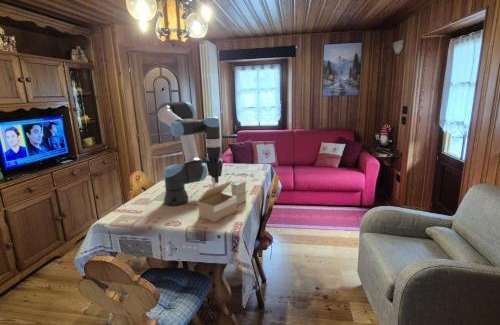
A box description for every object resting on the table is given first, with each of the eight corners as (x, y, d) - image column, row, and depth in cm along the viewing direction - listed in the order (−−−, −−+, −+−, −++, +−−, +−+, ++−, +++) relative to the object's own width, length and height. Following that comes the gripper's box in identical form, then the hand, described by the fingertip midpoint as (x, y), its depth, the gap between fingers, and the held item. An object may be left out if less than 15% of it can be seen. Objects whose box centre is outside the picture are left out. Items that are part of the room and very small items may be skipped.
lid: (198, 201, 154) (197, 200, 154) (221, 192, 168) (220, 191, 168) (208, 190, 147) (207, 189, 147) (231, 182, 160) (231, 180, 161)
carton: (199, 217, 156) (198, 201, 154) (222, 206, 170) (221, 192, 168) (214, 222, 149) (213, 206, 147) (237, 211, 162) (236, 196, 160)
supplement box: (240, 199, 180) (239, 180, 177) (246, 201, 177) (245, 181, 174) (231, 203, 174) (230, 183, 171) (237, 205, 171) (236, 184, 168)
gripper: (199, 146, 152) (202, 187, 158) (216, 148, 144) (219, 192, 150) (210, 144, 158) (212, 184, 163) (226, 146, 150) (228, 188, 155)
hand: (215, 188), depth 156 cm, fingers closed
